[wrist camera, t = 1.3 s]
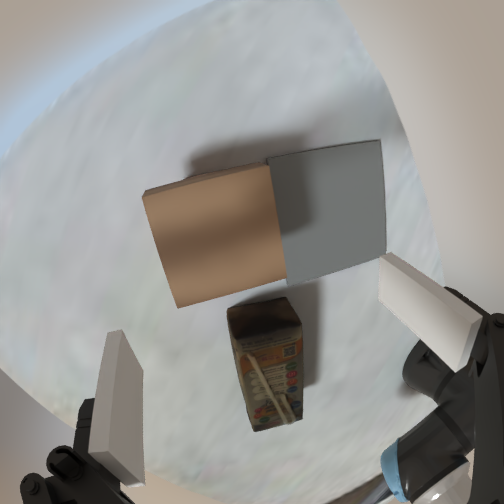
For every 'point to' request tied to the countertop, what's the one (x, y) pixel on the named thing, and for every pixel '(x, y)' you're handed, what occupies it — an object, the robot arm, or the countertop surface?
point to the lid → (217, 233)
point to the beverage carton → (268, 361)
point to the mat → (329, 208)
